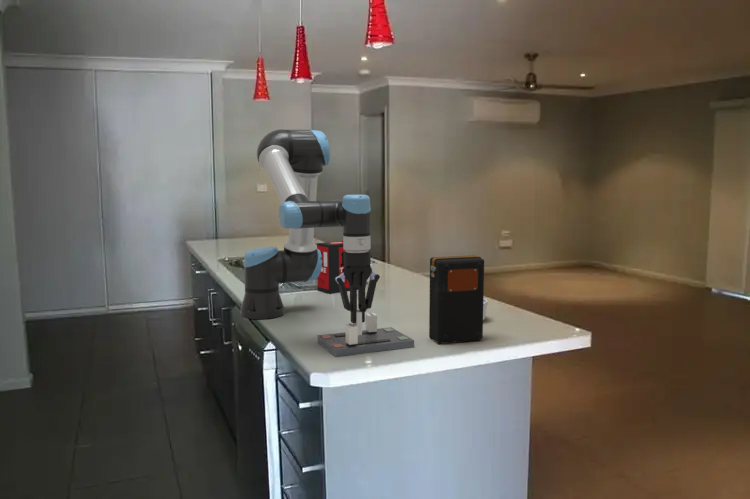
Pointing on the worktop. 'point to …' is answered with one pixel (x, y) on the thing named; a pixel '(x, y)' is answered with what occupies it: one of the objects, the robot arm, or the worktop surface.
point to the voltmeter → (456, 298)
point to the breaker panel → (365, 342)
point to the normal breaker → (371, 322)
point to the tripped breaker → (351, 334)
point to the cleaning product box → (331, 267)
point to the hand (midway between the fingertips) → (357, 333)
